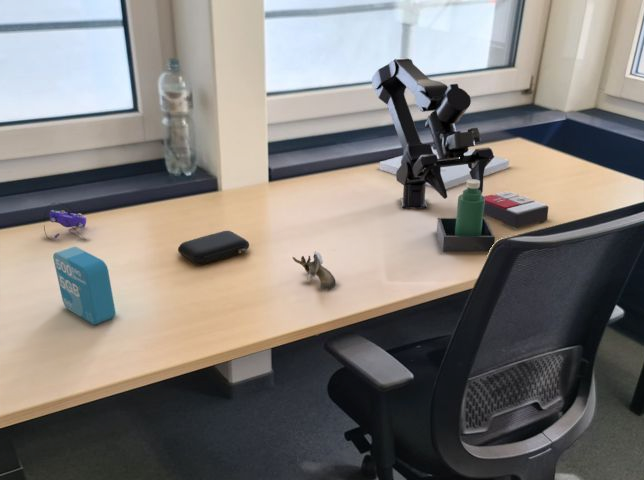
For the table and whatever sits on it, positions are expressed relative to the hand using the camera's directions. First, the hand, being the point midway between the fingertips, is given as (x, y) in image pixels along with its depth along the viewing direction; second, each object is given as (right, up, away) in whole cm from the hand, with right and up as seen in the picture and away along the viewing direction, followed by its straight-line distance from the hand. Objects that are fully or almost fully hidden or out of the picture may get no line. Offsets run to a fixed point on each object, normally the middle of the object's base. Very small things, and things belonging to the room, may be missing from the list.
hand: (463, 195), depth 173 cm
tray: (+1, -10, +4) cm, 11 cm away
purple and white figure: (-93, -8, +7) cm, 93 cm away
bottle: (+1, -10, +3) cm, 11 cm away
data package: (-77, -29, -26) cm, 87 cm away
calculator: (+15, -1, +19) cm, 24 cm away
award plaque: (+3, +20, +51) cm, 54 cm away
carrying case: (-57, -14, -2) cm, 58 cm away
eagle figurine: (-34, -22, -14) cm, 42 cm away
